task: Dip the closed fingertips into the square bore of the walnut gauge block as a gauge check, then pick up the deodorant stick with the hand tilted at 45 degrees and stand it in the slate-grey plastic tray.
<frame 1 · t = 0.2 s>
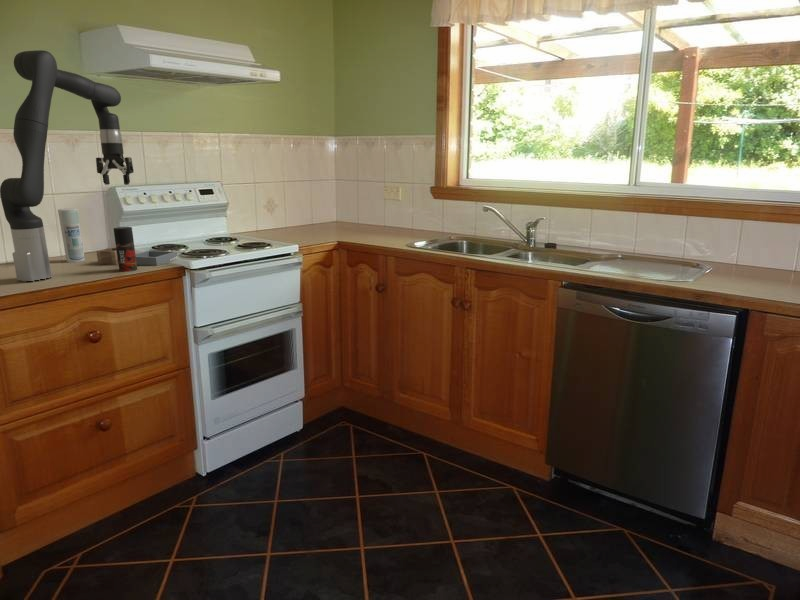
hand: (117, 184, 231), 28 cm above the countertop, tool pointing down, fingers open, 8 cm apart
tray: (153, 261, 224), on the countertop
gauge block: (114, 262, 224), on the countertop
deodorant: (128, 270, 210), on the countertop
spray can: (75, 261, 228), on the countertop
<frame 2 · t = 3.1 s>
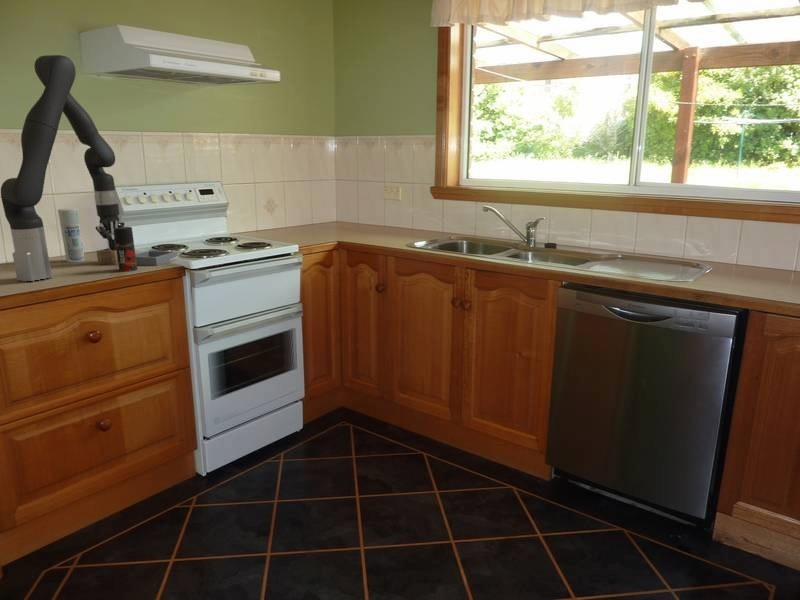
hand: (113, 248, 223), 5 cm above the countertop, tool pointing down, fingers closed
nothing on the countertop moved.
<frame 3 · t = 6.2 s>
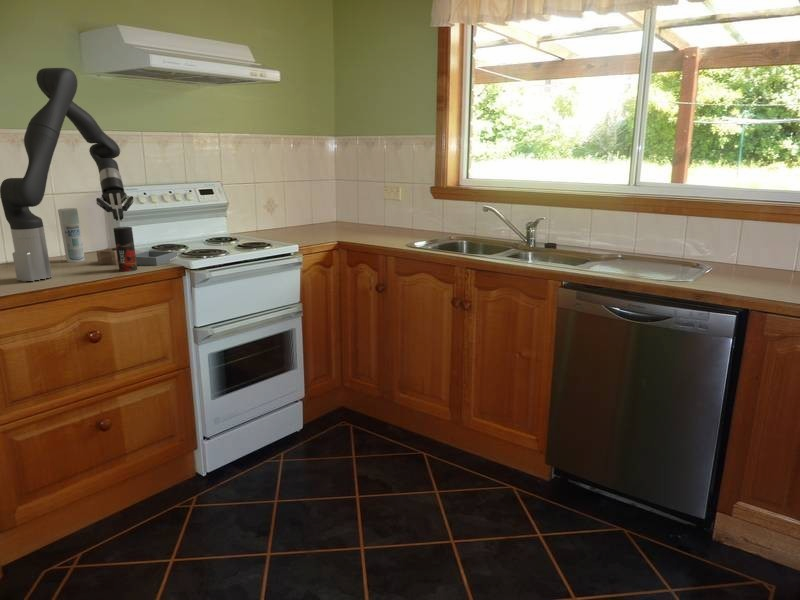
hand: (119, 219, 214), 17 cm above the countertop, tool tilted 45°, fingers closed
nothing on the countertop moved.
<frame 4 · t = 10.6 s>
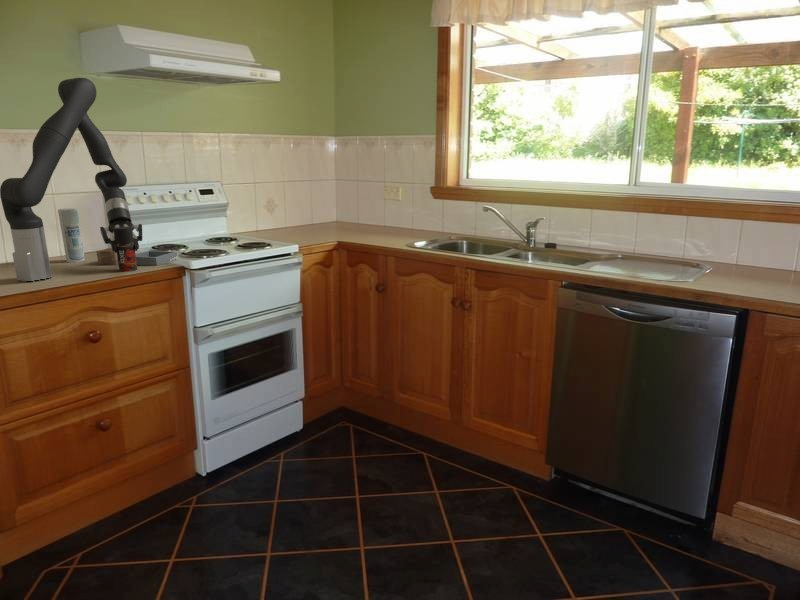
hand: (126, 250, 206), 7 cm above the countertop, tool tilted 45°, fingers closed on deodorant, 6 cm apart
deodorant: (128, 270, 210), on the countertop, touching gripper
everything else where it was.
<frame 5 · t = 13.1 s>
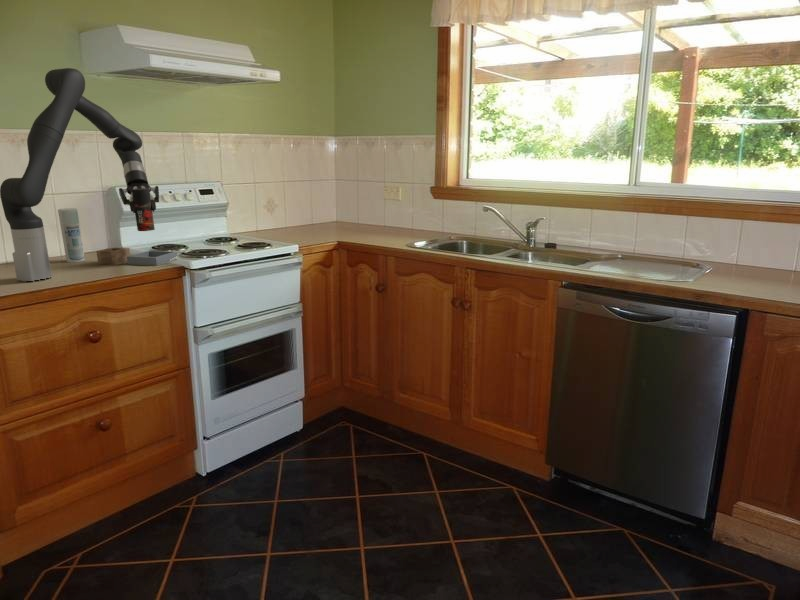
hand: (144, 210, 215), 20 cm above the countertop, tool tilted 45°, fingers closed on deodorant, 6 cm apart
deodorant: (146, 230, 219), point 12 cm above the countertop, touching gripper
everything else where it was.
when the fingers open (10 cm above the countertop, at t = 15.7 s): deodorant drops 2 cm, resting on tray.
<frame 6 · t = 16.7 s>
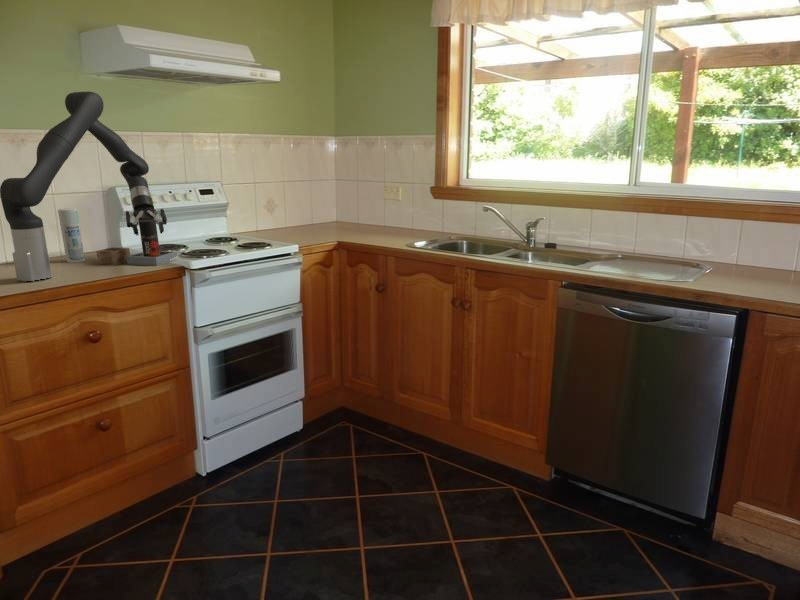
hand: (149, 233, 223), 11 cm above the countertop, tool tilted 45°, fingers open, 8 cm apart
deodorant: (152, 260, 224), resting on tray
everything else where it was.
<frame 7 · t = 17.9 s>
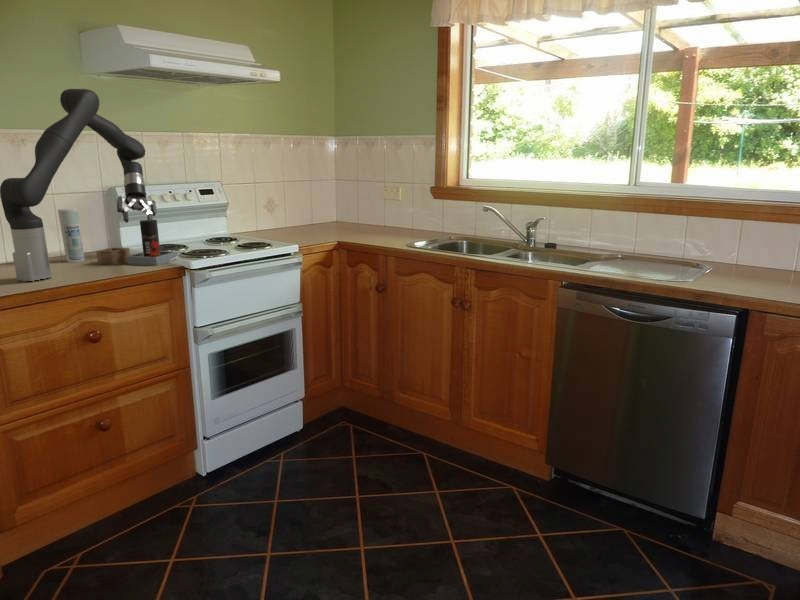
hand: (138, 223, 230), 14 cm above the countertop, tool tilted 35°, fingers open, 8 cm apart
nothing on the countertop moved.
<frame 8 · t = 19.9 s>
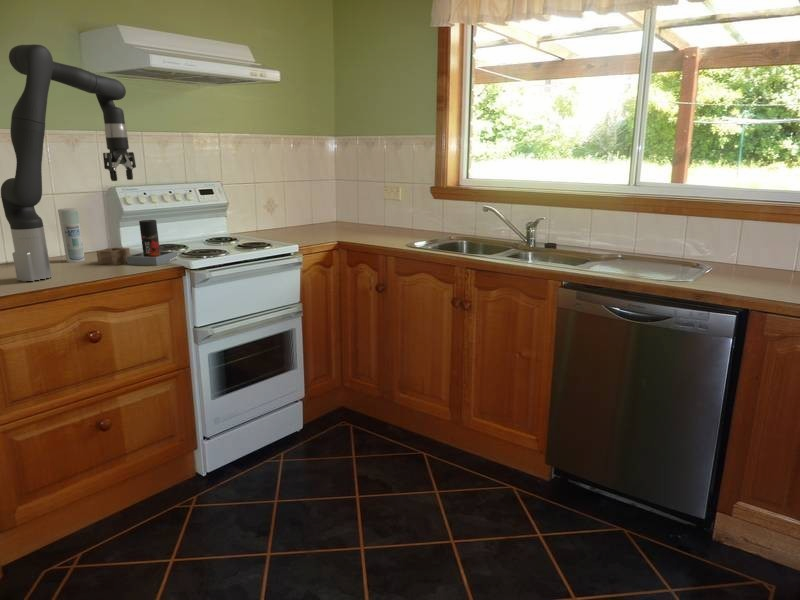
hand: (122, 180, 225), 30 cm above the countertop, tool pointing down, fingers open, 8 cm apart
nothing on the countertop moved.
at the end: deodorant inside the target area on the tray (0.2 cm from its centre), point 0.4 cm above the tray's base; deodorant tilted 0°; the gripper is holding nothing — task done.
